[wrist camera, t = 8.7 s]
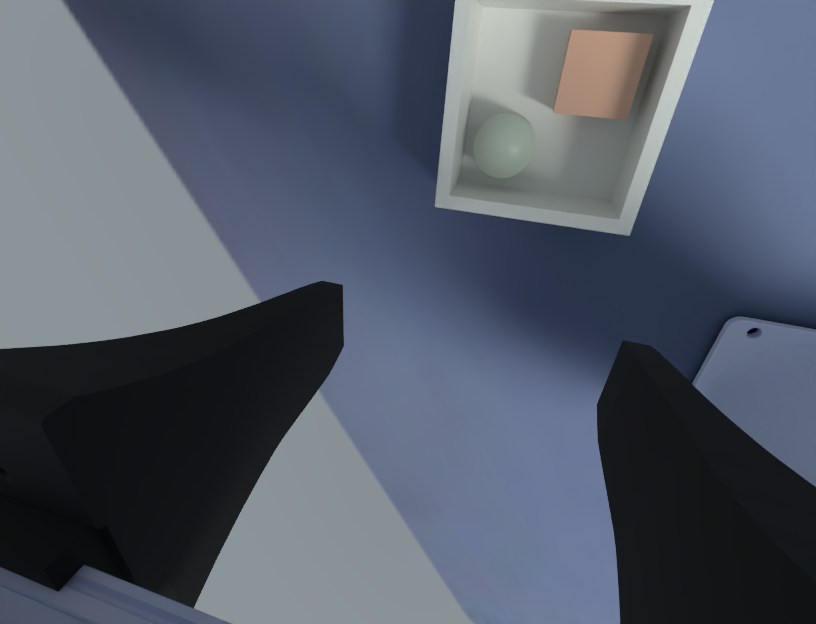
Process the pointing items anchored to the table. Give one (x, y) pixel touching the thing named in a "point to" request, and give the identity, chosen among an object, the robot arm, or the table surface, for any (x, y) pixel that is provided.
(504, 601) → the table surface
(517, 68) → the storage box
